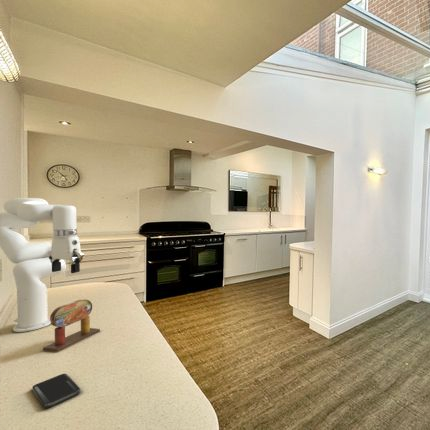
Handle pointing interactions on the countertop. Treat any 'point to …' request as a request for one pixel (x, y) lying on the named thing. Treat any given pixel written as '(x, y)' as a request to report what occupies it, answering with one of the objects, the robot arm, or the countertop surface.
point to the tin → (70, 313)
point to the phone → (55, 390)
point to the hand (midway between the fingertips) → (65, 271)
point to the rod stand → (71, 336)
